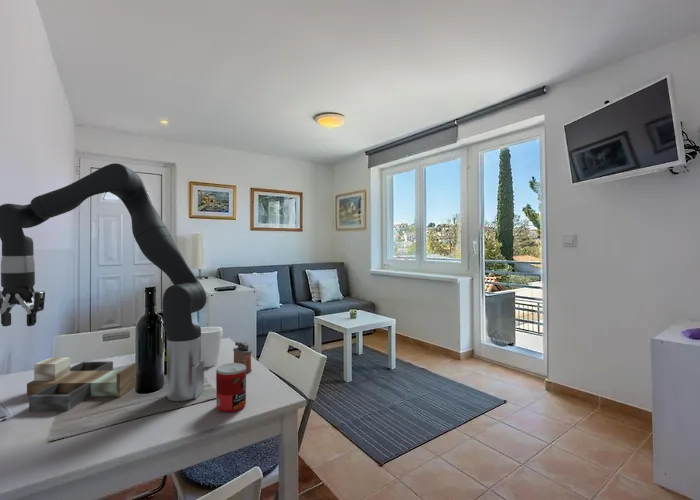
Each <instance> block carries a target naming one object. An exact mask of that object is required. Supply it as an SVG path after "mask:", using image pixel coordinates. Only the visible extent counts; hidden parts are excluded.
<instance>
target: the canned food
mask: <svg viewBox="0 0 700 500" xmlns="http://www.w3.org/2000/svg"><path fill="white" fill-rule="evenodd" d="M215 373H216V374H215V377H216V378H215V380H216V381H215V383H216V386H215V388H216V389H215V390H216V392H215V393H216V397H215V399H216V403H215V404H216V409H217V410H218V411H219V412H222V413H228V414H229V413H230V414H231V413H235V412H239V411H242V410H243V408H245V406H246V403H247V373H246V366H245V365H244V364H241V363H234V362H229V363H224V364H222V365H219V366H217V367H216V372H215Z"/></svg>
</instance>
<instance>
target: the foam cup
mask: <svg viewBox="0 0 700 500" xmlns="http://www.w3.org/2000/svg"><path fill="white" fill-rule="evenodd" d="M200 328H201V360H204V368H210V367H215V366H217V365H218V364H219V362H220V361H219V359H220V353H221V345H222V336H223V327H221V326H205V327H200Z"/></svg>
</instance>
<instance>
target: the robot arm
mask: <svg viewBox="0 0 700 500" xmlns="http://www.w3.org/2000/svg"><path fill="white" fill-rule="evenodd" d="M104 193H110V194H112V195H115V196H116V197H118V198H119V199H120V200H121V202H122V203H123V205H124V206H125V208H126V210H127V211H128V213H129V215H130V217H131V231H132V235H133V238H134V239H135V242H136V244H137V246H138V248H139V249H140V251H141V253H142V254H143V256H145V258H146V259H148V260H149V262H150V263H152V264H153V265H154V266H155V267H157V268H158V269H159V270H161V271H162V272H163V273H164V274H165V275H166V276H167V277H168V279H170V281H171V282H172V285H171V286H170V285H169V286H168V287H167V288H166V290H164V293H163V296H162V319H163V321H162V322H163V328H164V331H165V333H166V399H167V400H169V401H172V402H183V401H189V400H194V399H197V398H199V396H200V395H201V394H202V393H203V392H204V390H205V389H204V388H205V387H204V384H205V382H204V381H205V379H204V378H205V377H204V374H205V373H204V371H205V369H204V368H205V367H204V360H201V328H202V327H201V326H200V325H198V324H194V323H193V319H192V314H193V313H197V312H199V311H201V310H202V309H203V308H204V307H205V306H206V304H207V293H206V289H204V286H203V285H202V283H201V282H200V281H199V279H198V278H197V276H196V275H195V274H194V272H193V271H192V270H191V269H190V267H189V265H188V263H187V262H186V259H184V257H183V255H182V253H181V251H180V250H179V248H178V246H177V245H176V242H175V240H174V239H173V237H172V235H171V232H170V231H169V230H168V228H167V226H166V225H165V222H164V221H163V220H162V218H161V216H160V215H159V213H158V211H157V210H156V208H155V206H154V205H153V203H152V200H151V199H150V197H149V194H148V191H147V189H146V186H145V183H144V182H143V179H142V178H141V177H140V175H139V174H138V173H136V172H135V171H133V170H132V169H131V168H129V167H128V166H126V165H124V164H121V163H115V162H114V163H111V164H107V165H104V166H102V167H100V168H98V169H97V170H95V171H93V172H91V173H90V174H88V175H85V176H83V177H81V178H80V179H78V180H76V181H74V182H72V183H70V184H68V185H66V186H63V187H61V188H57V189H55V190H52V191H49V192H46V193H43V194H40V195H37V196H35V197H34V198H32V199H31V200H30V203H28V204H15V203H3V204H0V241H1V260H0V285H1V287H2V291H1V290H0V324H1V325H2V327H9V326H12V313H11V312H12V310H13V307H15V306H16V305H19V306H21V308H22V309H24V310H25V312H26V327H33V326H35V325H36V323H37V313H39V312H41V311H44V308H45V299H46V292H45V291H44V290H43V291H42V290H41V291H35V289H34V286H35V285H36V267H35V266H36V264H35V257H34V255H35V254H34V251H35V249H34V240H33V238H32V237H29V236H27V235H25V233H24V230H23V229H30V228H35V227H37V226H40V225H41V224H43V223H45V222H46V221H48V220H49V219H51V218H54V217H57V216H60V215H63V214H66V213H69V212H72V211H73V210H75V209H76V208H78V207H79V206H81V204H82V203H84V201H86V200H87V199H89V198H91V197H94V196H96V195H100V194H104Z"/></svg>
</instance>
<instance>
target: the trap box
mask: <svg viewBox="0 0 700 500" xmlns="http://www.w3.org/2000/svg"><path fill="white" fill-rule="evenodd" d="M136 362H137V361H135V362H133V363H131V364H130V365H129V366H126V368H124V369H122V370H114V362H113V361H110V360H109V361H106V360H105V361H82V362H80V363H77V364H75V365H72V366H70V374H68V375H66V376H64V377H62V378H60V379H58V380H56V381H34V380H32V381H29V382H27V383H26V397H27V398H28V404H29V407H28V411H29V412H66V411H67V412H69V411H70V410H72V409H73V408H75V407H77V406H78V405H80V404H81V403H83V402H84V401H86V400H88V399H90V397H116V398H122V396H124V395H126V394H127V393H129V391H131V390H132V389H134V388H135V387H136V386H135V376H136Z"/></svg>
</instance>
